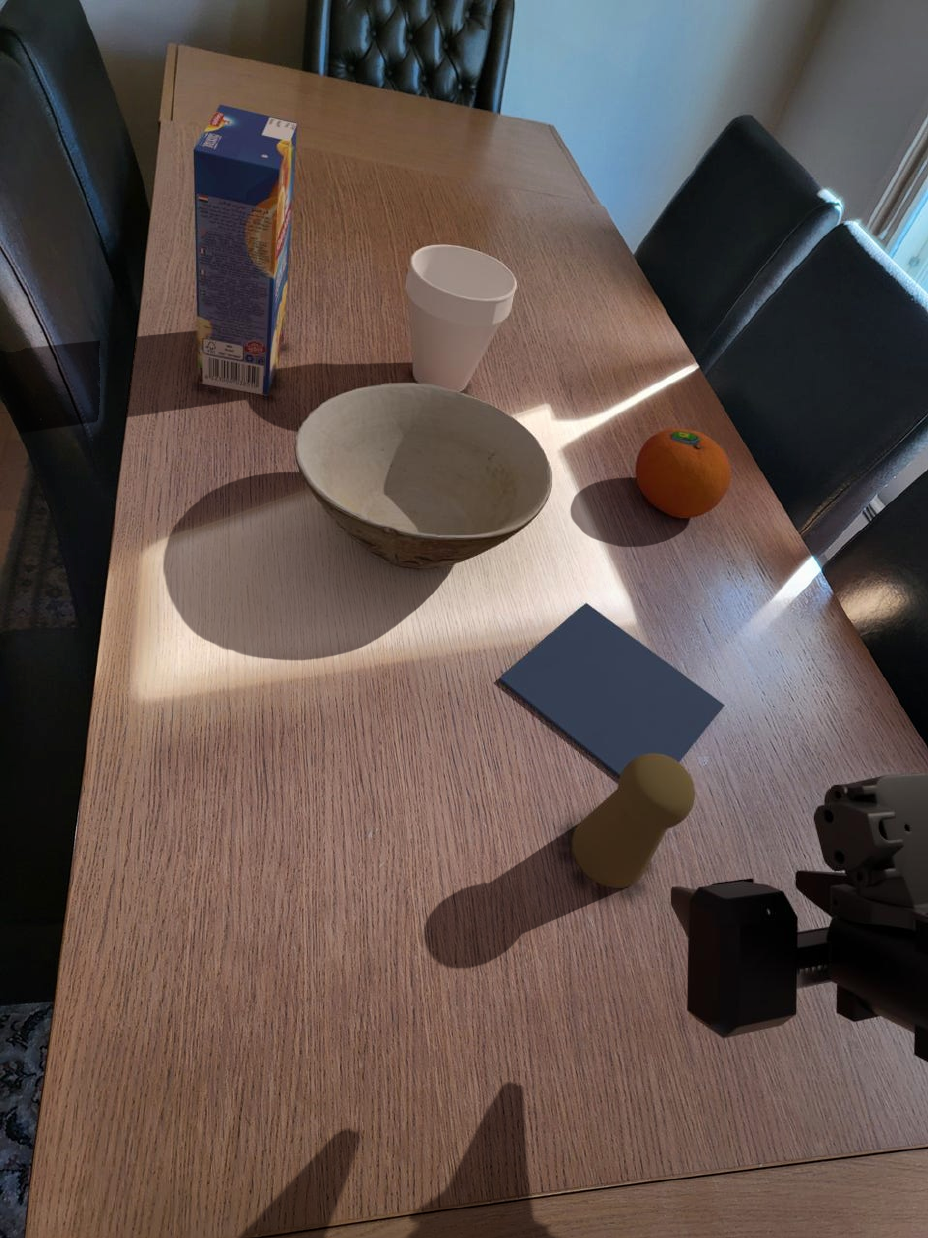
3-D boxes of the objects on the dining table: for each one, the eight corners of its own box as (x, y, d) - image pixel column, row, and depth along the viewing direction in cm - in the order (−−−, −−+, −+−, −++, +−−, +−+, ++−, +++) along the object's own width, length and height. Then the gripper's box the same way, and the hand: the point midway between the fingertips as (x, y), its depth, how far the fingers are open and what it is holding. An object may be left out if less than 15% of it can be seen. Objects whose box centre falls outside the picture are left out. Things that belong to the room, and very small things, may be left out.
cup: (448, 342, 107) (472, 238, 97) (508, 395, 102) (539, 291, 92) (370, 359, 101) (387, 249, 91) (430, 417, 96) (454, 307, 86)
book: (723, 707, 76) (724, 705, 76) (647, 801, 67) (649, 799, 67) (584, 605, 81) (586, 602, 80) (498, 680, 72) (499, 677, 72)
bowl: (263, 459, 84) (267, 375, 77) (473, 445, 94) (494, 369, 87) (325, 635, 71) (338, 552, 64) (562, 598, 81) (597, 522, 73)
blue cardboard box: (267, 396, 91) (279, 169, 74) (198, 383, 90) (193, 149, 73) (283, 339, 99) (297, 122, 82) (220, 326, 98) (220, 103, 81)
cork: (635, 813, 66) (692, 739, 58) (656, 886, 62) (721, 818, 54) (564, 815, 65) (613, 739, 57) (581, 890, 61) (637, 819, 53)
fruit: (728, 521, 95) (762, 466, 89) (663, 540, 90) (694, 484, 84) (670, 463, 100) (699, 408, 94) (606, 478, 95) (631, 421, 89)
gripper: (1137, 789, 38) (856, 743, 52) (833, 819, 31) (603, 756, 45) (1134, 1034, 38) (853, 920, 52) (829, 1122, 31) (600, 961, 45)
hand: (737, 886), depth 49 cm, fingers open, 9 cm apart
